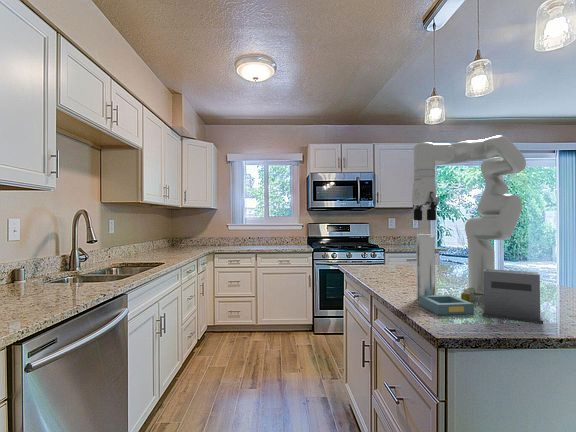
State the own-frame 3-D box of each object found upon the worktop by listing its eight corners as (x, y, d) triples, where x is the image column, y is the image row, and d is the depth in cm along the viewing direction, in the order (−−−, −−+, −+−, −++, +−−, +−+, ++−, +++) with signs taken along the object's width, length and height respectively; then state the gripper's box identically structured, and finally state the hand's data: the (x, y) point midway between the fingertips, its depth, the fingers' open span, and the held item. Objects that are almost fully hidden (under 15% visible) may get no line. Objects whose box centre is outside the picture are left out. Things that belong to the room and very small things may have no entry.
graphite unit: (482, 310, 106) (481, 268, 106) (539, 316, 98) (538, 271, 99) (482, 316, 99) (481, 271, 100) (543, 324, 92) (542, 275, 92)
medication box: (468, 297, 124) (467, 287, 124) (475, 298, 123) (475, 288, 123) (461, 304, 115) (461, 293, 115) (470, 305, 113) (469, 293, 113)
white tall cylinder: (437, 302, 117) (436, 234, 117) (418, 301, 118) (418, 234, 118) (433, 297, 123) (432, 233, 123) (415, 297, 124) (414, 233, 125)
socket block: (451, 304, 113) (451, 294, 113) (474, 314, 101) (474, 303, 101) (419, 305, 112) (418, 295, 112) (438, 316, 100) (438, 305, 100)
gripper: (404, 178, 129) (404, 220, 129) (427, 171, 112) (427, 220, 112) (422, 178, 130) (422, 220, 130) (447, 172, 113) (447, 220, 112)
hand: (424, 220), depth 121 cm, fingers open, 9 cm apart
